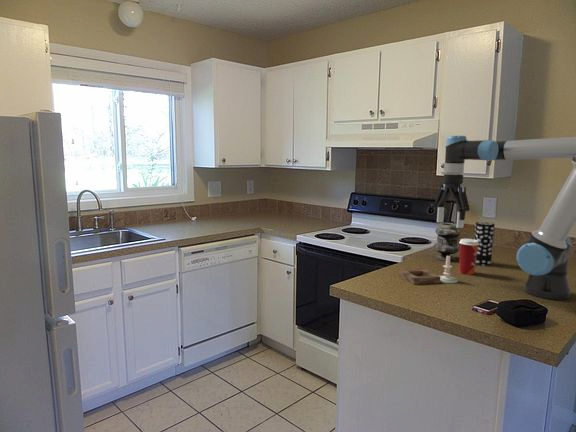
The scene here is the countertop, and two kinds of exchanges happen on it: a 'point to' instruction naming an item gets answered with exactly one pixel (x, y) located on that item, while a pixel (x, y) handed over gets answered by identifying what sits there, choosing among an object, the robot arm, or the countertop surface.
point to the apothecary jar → (447, 240)
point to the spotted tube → (484, 242)
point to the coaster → (449, 280)
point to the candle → (447, 270)
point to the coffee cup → (468, 256)
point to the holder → (419, 276)
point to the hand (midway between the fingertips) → (449, 224)
